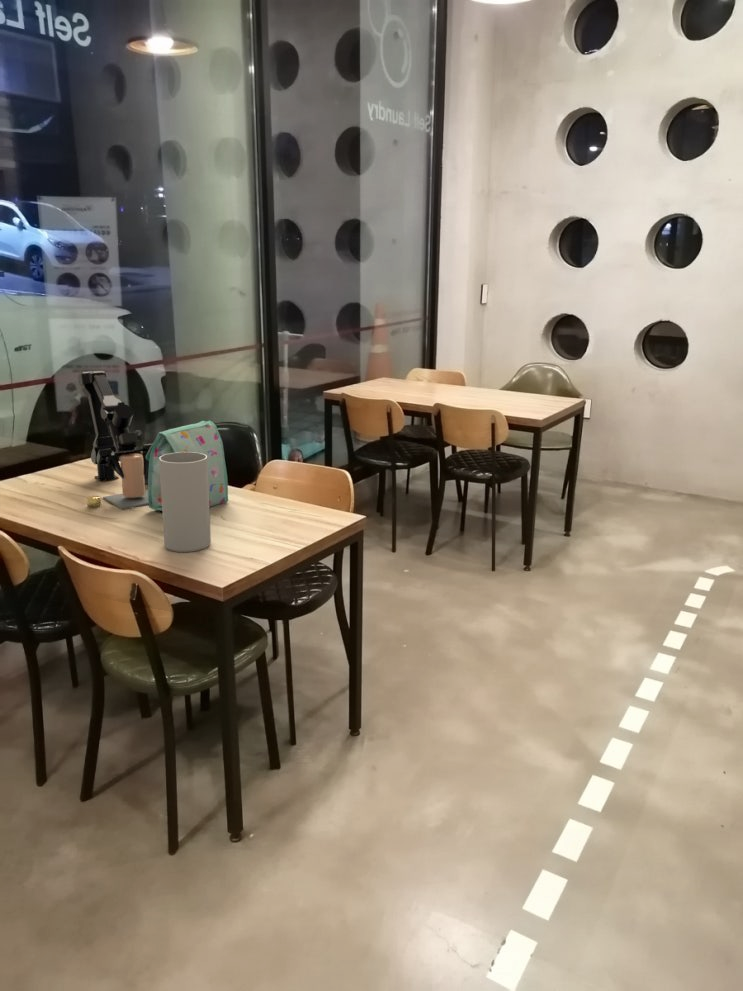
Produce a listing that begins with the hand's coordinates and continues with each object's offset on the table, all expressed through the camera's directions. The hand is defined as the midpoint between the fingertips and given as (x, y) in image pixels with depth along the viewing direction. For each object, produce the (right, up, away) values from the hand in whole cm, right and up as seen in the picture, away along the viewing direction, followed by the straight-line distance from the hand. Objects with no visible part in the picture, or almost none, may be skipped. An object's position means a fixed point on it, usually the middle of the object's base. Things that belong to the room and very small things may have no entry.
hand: (134, 476), depth 249 cm
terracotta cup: (-1, -6, +3) cm, 7 cm away
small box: (0, -1, +26) cm, 26 cm away
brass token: (-11, -10, -4) cm, 16 cm away
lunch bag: (+18, -10, -2) cm, 21 cm away
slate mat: (-1, -8, +3) cm, 9 cm away
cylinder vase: (+26, -20, -36) cm, 49 cm away
